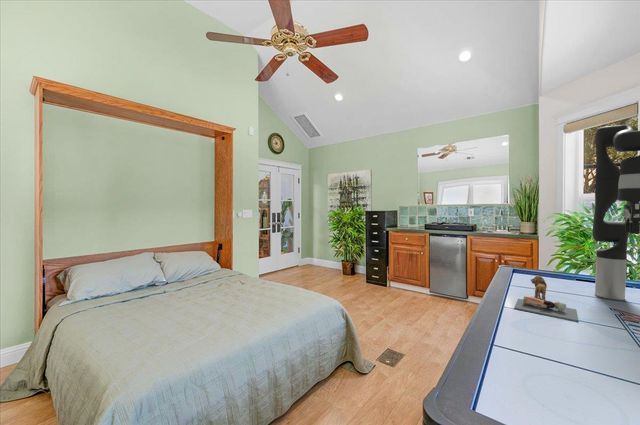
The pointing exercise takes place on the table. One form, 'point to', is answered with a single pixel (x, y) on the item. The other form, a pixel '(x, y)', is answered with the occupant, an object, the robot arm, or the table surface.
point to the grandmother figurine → (544, 303)
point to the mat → (548, 311)
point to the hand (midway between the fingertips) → (631, 233)
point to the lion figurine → (539, 287)
